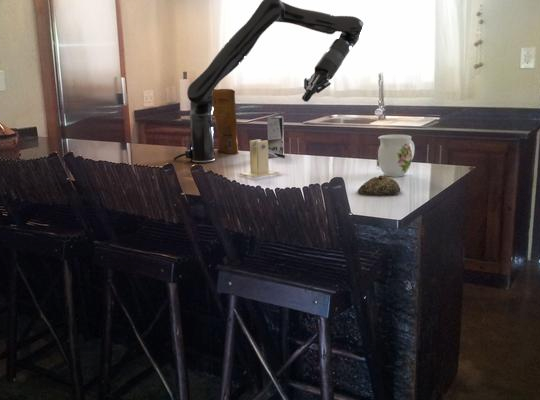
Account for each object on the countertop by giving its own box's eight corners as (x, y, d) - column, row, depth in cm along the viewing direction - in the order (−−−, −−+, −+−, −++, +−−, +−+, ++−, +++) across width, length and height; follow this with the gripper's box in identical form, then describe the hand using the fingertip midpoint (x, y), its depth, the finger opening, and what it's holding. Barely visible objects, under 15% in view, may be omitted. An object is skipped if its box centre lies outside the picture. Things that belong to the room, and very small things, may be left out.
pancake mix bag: (230, 155, 274) (228, 89, 268) (209, 150, 291) (206, 88, 284) (244, 153, 277) (241, 88, 271) (222, 148, 294) (219, 87, 287)
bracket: (264, 171, 237) (263, 137, 234) (279, 175, 229) (278, 140, 226) (239, 176, 231) (238, 141, 228) (254, 180, 224) (253, 143, 221)
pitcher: (426, 172, 220) (427, 132, 217) (392, 180, 211) (393, 139, 207) (400, 168, 229) (401, 130, 226) (366, 176, 220) (366, 136, 216)
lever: (273, 158, 236) (275, 152, 236) (283, 160, 231) (286, 154, 231) (249, 146, 229) (252, 140, 229) (259, 148, 224) (262, 141, 224)
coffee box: (283, 157, 264) (282, 118, 260) (267, 157, 266) (266, 118, 262) (284, 153, 273) (283, 115, 269) (269, 153, 274) (268, 115, 270)
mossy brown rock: (399, 197, 189) (399, 180, 188) (356, 195, 194) (356, 179, 193) (402, 187, 201) (402, 172, 199) (361, 186, 205) (362, 171, 204)
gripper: (311, 57, 241) (287, 92, 238) (336, 56, 230) (311, 94, 227) (322, 70, 245) (298, 105, 242) (347, 70, 234) (322, 107, 231)
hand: (304, 100), depth 234 cm, fingers closed
